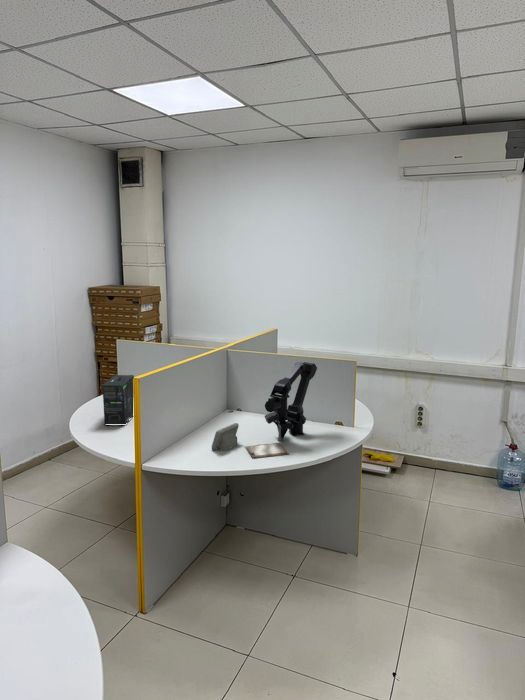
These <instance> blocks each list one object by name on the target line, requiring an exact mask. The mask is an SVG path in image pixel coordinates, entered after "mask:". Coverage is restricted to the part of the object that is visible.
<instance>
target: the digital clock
mask: <svg viewBox="0 0 525 700" xmlns="http://www.w3.org/2000/svg"><path fill="white" fill-rule="evenodd" d="M238 430H239V423H238V422H233V423H230V424H229V425H226V426H224V427H222V428H219V429H217V430H216V431H215V433H214V437H213V440H212V444H211V450H213V451H216V450H221V449H222V450H221V451H224V450H225V452H227V451H228V450H230V449H232V448H234V447H238V437H237V433H238Z"/></svg>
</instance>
